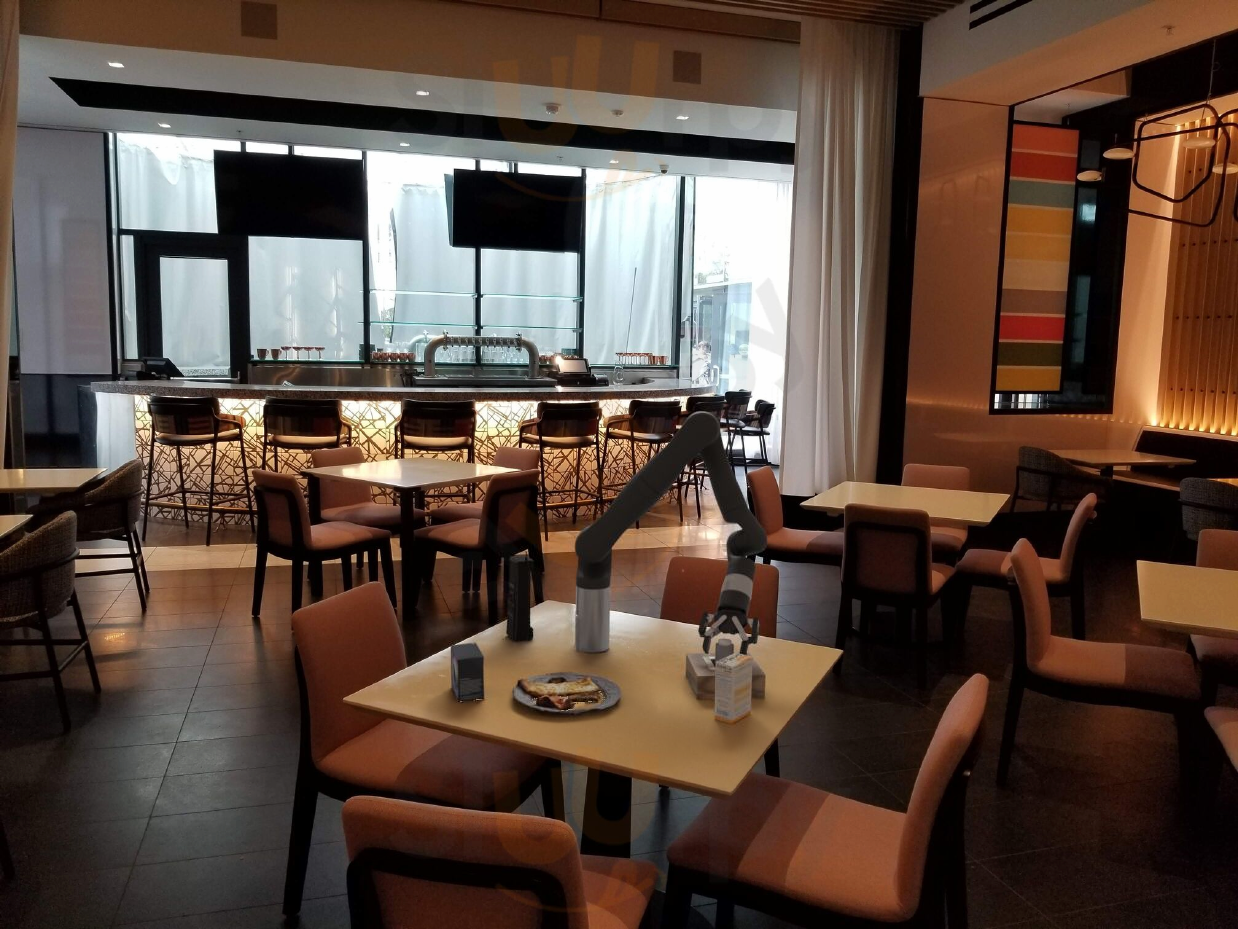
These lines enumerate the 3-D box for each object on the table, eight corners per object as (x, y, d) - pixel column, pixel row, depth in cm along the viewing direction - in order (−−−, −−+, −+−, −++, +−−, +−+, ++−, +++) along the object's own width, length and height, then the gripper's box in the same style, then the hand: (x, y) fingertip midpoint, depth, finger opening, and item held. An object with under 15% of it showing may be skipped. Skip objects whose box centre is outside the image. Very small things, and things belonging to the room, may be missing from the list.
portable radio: (504, 634, 254) (504, 547, 251) (524, 632, 256) (524, 546, 253) (513, 642, 247) (513, 553, 244) (533, 640, 249) (534, 551, 246)
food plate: (520, 722, 193) (521, 706, 192) (504, 685, 215) (505, 671, 215) (632, 715, 199) (633, 699, 199) (605, 680, 222) (606, 666, 221)
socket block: (696, 699, 208) (697, 674, 207) (685, 674, 224) (686, 652, 223) (764, 697, 209) (765, 673, 209) (748, 674, 225) (749, 651, 224)
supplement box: (733, 708, 203) (734, 651, 201) (751, 713, 200) (753, 656, 198) (712, 719, 197) (714, 661, 195) (731, 725, 193) (733, 666, 192)
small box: (449, 687, 213) (449, 644, 212) (476, 684, 215) (476, 641, 214) (456, 703, 203) (456, 658, 202) (485, 700, 205) (485, 655, 204)
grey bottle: (716, 684, 214) (717, 643, 213) (712, 677, 218) (714, 637, 217) (734, 684, 214) (735, 643, 213) (730, 677, 219) (732, 637, 218)
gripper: (705, 585, 223) (691, 643, 214) (762, 591, 218) (751, 651, 209) (710, 601, 229) (697, 658, 219) (765, 607, 224) (755, 666, 215)
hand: (723, 654), depth 214 cm, fingers open, 8 cm apart
